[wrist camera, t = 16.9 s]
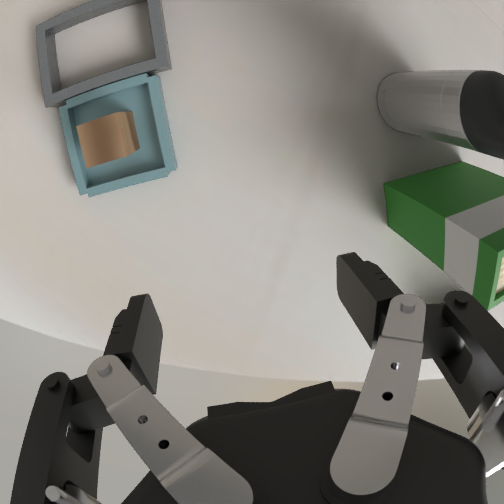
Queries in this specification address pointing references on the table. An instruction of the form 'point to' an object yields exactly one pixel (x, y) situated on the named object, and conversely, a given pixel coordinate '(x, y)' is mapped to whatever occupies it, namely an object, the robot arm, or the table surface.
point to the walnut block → (108, 138)
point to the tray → (147, 126)
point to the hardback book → (455, 224)
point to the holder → (55, 96)
